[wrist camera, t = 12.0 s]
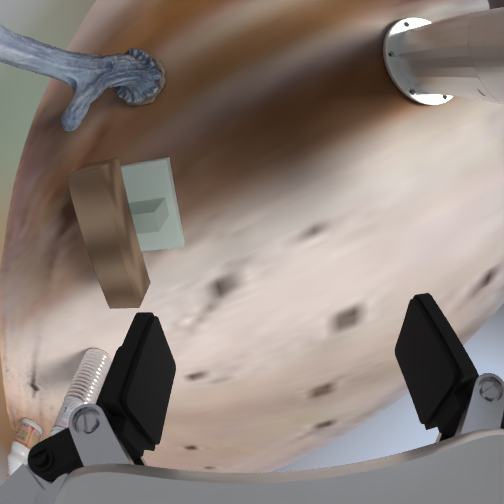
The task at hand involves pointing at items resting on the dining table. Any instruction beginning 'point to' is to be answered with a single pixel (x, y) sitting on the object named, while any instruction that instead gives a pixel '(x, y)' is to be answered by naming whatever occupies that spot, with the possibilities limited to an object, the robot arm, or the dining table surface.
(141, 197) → the block
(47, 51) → the antler
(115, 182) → the walnut bar
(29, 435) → the fruit juice
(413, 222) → the dining table surface
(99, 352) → the water bottle
